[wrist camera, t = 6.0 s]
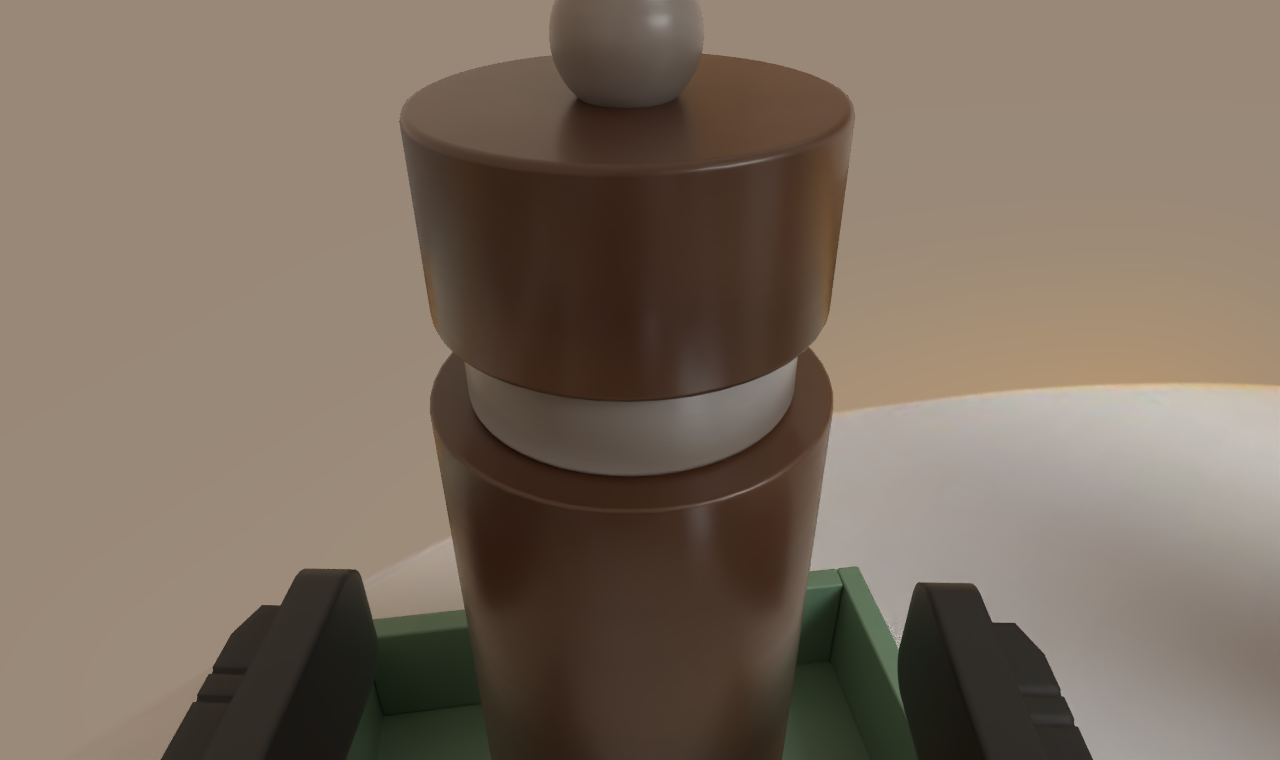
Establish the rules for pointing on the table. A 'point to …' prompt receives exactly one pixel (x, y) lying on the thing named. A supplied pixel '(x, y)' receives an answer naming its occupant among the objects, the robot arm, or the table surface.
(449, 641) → the green shallow open box
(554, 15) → the pepper mill
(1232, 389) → the table surface
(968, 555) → the table surface
